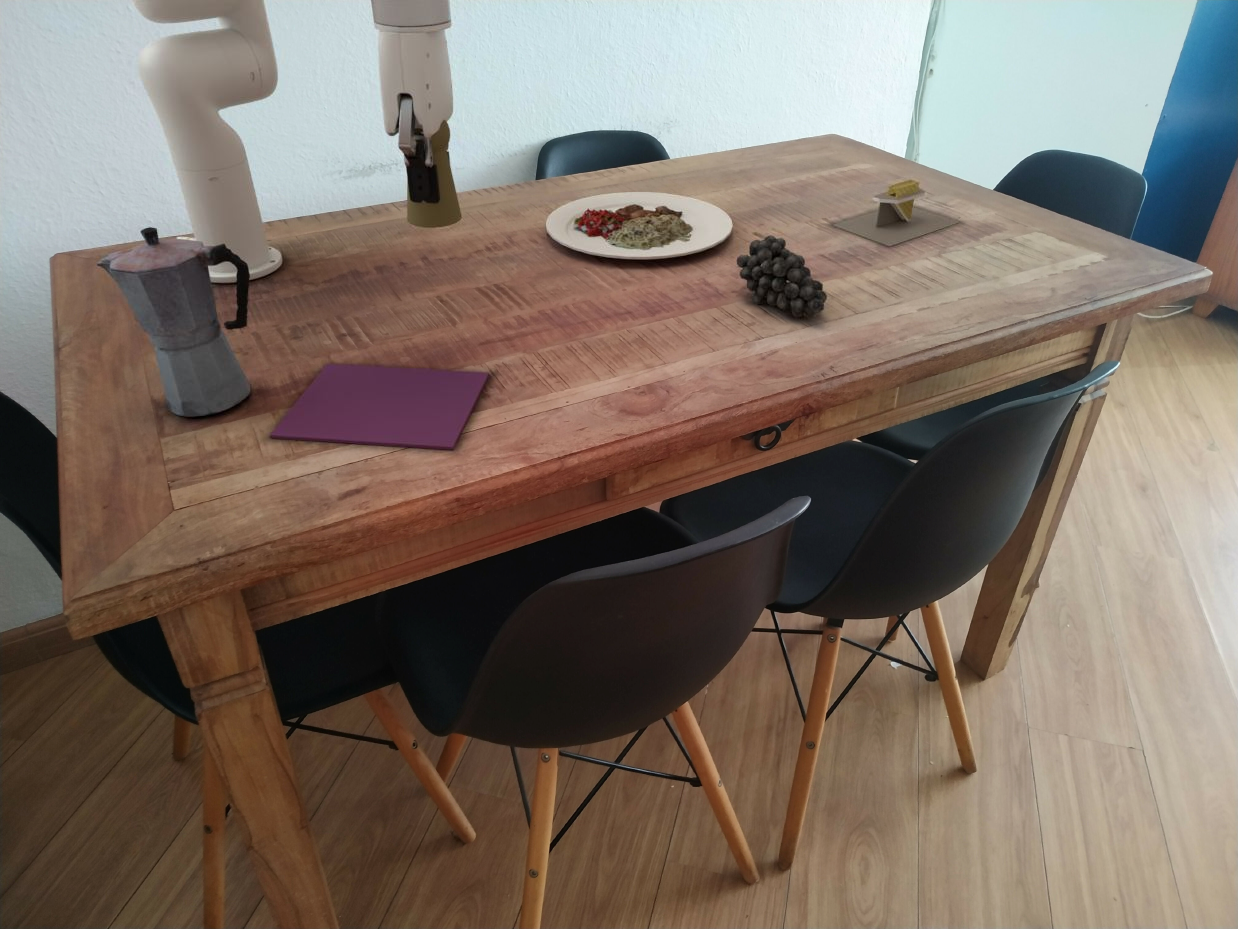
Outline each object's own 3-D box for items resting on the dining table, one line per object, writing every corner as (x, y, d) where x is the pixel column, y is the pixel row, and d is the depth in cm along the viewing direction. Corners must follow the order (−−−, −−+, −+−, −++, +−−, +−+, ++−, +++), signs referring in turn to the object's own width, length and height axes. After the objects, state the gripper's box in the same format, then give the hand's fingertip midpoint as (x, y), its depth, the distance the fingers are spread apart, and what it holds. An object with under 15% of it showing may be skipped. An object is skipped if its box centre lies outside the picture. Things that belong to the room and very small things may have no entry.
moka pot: (158, 380, 105) (102, 214, 93) (292, 374, 106) (252, 209, 94) (129, 423, 97) (63, 247, 86) (273, 416, 98) (227, 242, 87)
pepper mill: (450, 229, 96) (440, 124, 90) (398, 225, 97) (384, 120, 91) (469, 210, 101) (460, 110, 95) (419, 206, 102) (407, 106, 96)
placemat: (270, 438, 94) (269, 435, 94) (327, 366, 108) (327, 363, 107) (453, 450, 93) (452, 446, 92) (489, 375, 106) (489, 372, 105)
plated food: (759, 258, 135) (761, 236, 133) (566, 277, 129) (565, 255, 127) (697, 196, 159) (698, 177, 157) (532, 210, 153) (531, 191, 151)
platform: (959, 222, 148) (968, 182, 144) (889, 246, 139) (896, 204, 135) (901, 203, 156) (908, 165, 152) (831, 224, 147) (837, 185, 143)
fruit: (842, 258, 111) (770, 219, 122) (789, 290, 110) (721, 248, 120) (849, 313, 117) (779, 271, 128) (799, 344, 116) (733, 299, 126)
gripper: (400, -5, 94) (420, 169, 105) (343, 23, 81) (373, 219, 91) (470, -2, 94) (483, 172, 104) (424, 26, 80) (444, 223, 91)
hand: (431, 192), depth 98 cm, fingers closed on pepper mill, 4 cm apart
